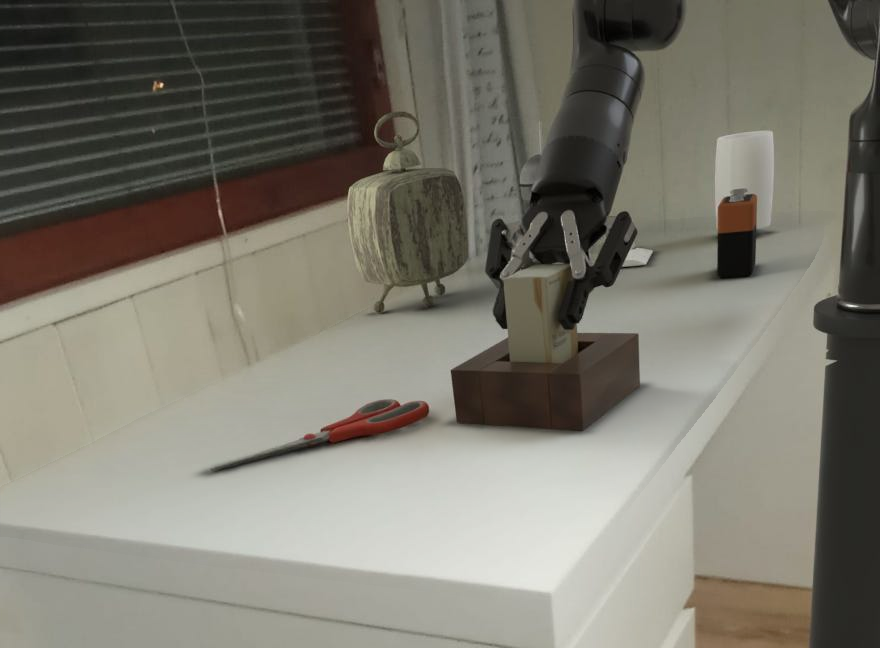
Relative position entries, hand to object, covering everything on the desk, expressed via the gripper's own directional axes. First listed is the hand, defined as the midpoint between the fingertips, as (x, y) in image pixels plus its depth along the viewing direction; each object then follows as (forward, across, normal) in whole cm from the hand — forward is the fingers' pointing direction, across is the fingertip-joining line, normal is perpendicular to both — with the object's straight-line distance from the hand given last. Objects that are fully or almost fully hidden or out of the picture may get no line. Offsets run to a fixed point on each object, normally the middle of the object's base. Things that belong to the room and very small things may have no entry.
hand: (533, 324), depth 89 cm
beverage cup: (-44, -34, +55) cm, 78 cm away
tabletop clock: (-22, -39, +34) cm, 56 cm away
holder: (+4, 0, +7) cm, 8 cm away
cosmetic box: (+4, 0, +7) cm, 8 cm away
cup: (-53, -7, +64) cm, 83 cm away
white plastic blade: (-43, -19, +54) cm, 72 cm away
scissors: (+14, -16, -3) cm, 22 cm away
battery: (-34, 0, +46) cm, 57 cm away
